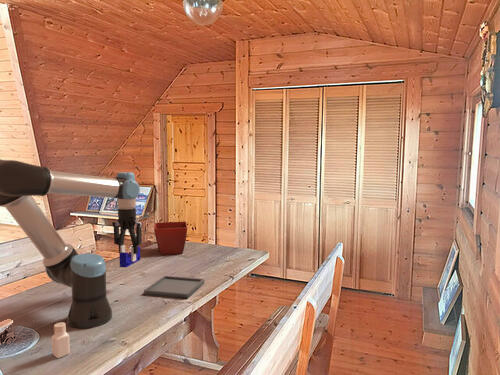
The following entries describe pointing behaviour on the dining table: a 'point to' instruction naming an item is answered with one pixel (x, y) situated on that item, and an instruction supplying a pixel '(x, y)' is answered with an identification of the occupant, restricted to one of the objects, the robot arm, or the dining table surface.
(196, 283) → the tray
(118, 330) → the dining table surface
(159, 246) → the plant pot
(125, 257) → the cable clip
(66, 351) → the salt shaker
